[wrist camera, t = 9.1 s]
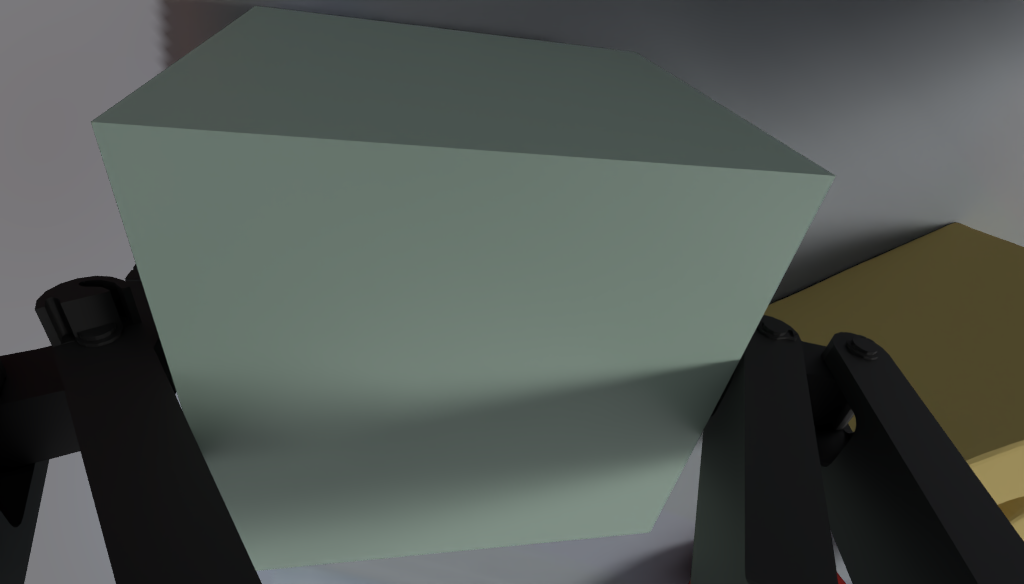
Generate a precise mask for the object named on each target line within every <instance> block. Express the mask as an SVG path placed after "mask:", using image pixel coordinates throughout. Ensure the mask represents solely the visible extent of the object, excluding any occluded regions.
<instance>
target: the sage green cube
mask: <svg viewBox="0 0 1024 584" xmlns="http://www.w3.org/2000/svg"><path fill="white" fill-rule="evenodd" d="M91 124H92V127H93V130H94V133H95V137H96V140H97V143H98V146H99V149H100V152H101V156H102V158H103V162H104V165H105V168H106V171H107V174H108V178H109V181H110V184H111V187H112V190H113V193H114V196H115V199H116V203H117V206H118V209H119V212H120V215H121V218H122V222H123V225H124V228H125V231H126V234H127V237H128V240H129V243H130V247H131V250H132V253H133V256H134V259H135V262H136V266H137V269H138V272H139V275H140V278H141V281H142V284H143V287H144V291H145V294H146V297H147V300H148V303H149V306H150V309H151V313H152V316H153V319H154V322H155V325H156V328H157V331H158V335H159V338H160V341H161V344H162V347H163V350H164V353H165V357H166V360H167V363H168V366H169V369H170V372H171V375H172V379H173V382H174V385H175V388H176V391H177V394H178V397H179V401H180V404H181V407H182V410H183V413H184V415H185V417H186V420H187V422H188V424H189V426H190V428H191V431H192V433H193V435H194V437H195V439H196V441H197V444H198V446H199V448H200V450H201V452H202V455H203V457H204V459H205V461H206V463H207V465H208V468H209V470H210V472H211V474H212V476H213V478H214V481H215V483H216V485H217V487H218V489H219V492H220V494H221V496H222V498H223V500H224V502H225V505H226V507H227V509H228V511H229V513H230V516H231V518H232V520H233V522H234V524H235V526H236V529H237V531H238V533H239V535H240V537H241V539H242V542H243V544H244V546H245V548H246V550H247V553H248V555H249V557H250V559H251V561H252V563H253V566H254V568H255V570H256V571H258V570H270V569H280V568H290V567H300V566H311V565H321V564H331V563H342V562H352V561H362V560H372V559H383V558H393V557H403V556H414V555H424V554H434V553H444V552H455V551H465V550H475V549H485V548H496V547H506V546H516V545H527V544H537V543H547V542H557V541H568V540H578V539H588V538H599V537H609V536H619V535H629V534H640V533H650V531H651V530H652V528H653V526H654V524H655V522H656V520H657V518H658V516H659V514H660V512H661V510H662V508H663V506H664V505H665V503H666V501H667V499H668V497H669V495H670V493H671V491H672V489H673V487H674V485H675V483H676V482H677V480H678V478H679V476H680V474H681V472H682V470H683V468H684V466H685V464H686V462H687V460H688V459H689V457H690V455H691V453H692V451H693V449H694V447H695V445H696V443H697V441H698V439H699V437H700V435H701V434H702V432H703V430H704V428H705V426H706V424H707V422H708V420H709V418H710V416H711V414H712V412H713V411H714V409H715V407H716V405H717V403H718V401H719V399H720V397H721V395H722V393H723V391H724V389H725V388H726V386H727V384H728V382H729V380H730V378H731V376H732V374H733V372H734V370H735V368H736V366H737V364H738V363H739V361H740V359H741V357H742V355H743V353H744V351H745V349H746V347H747V345H748V343H749V341H750V340H751V338H752V336H753V334H754V332H755V330H756V328H757V326H758V324H759V322H760V320H761V318H762V317H763V315H764V313H765V311H766V309H767V307H768V305H769V303H770V301H771V299H772V297H773V295H774V294H775V292H776V290H777V288H778V286H779V284H780V282H781V280H782V278H783V276H784V274H785V272H786V270H787V269H788V267H789V265H790V263H791V261H792V259H793V257H794V255H795V253H796V251H797V249H798V247H799V246H800V244H801V242H802V240H803V238H804V236H805V234H806V232H807V230H808V228H809V226H810V224H811V223H812V221H813V219H814V217H815V215H816V213H817V211H818V209H819V207H820V205H821V203H822V201H823V199H824V198H825V196H826V194H827V192H828V190H829V188H830V186H831V184H832V182H833V180H834V178H835V175H834V174H832V173H830V172H829V171H827V170H825V169H824V168H822V167H821V166H819V165H817V164H816V163H814V162H813V161H811V160H809V159H808V158H806V157H804V156H803V155H801V154H800V153H798V152H796V151H795V150H793V149H791V148H790V147H788V146H787V145H785V144H783V143H782V142H780V141H779V140H777V139H775V138H774V137H772V136H770V135H769V134H767V133H766V132H764V131H762V130H761V129H759V128H757V127H756V126H754V125H753V124H751V123H749V122H748V121H746V120H745V119H743V118H741V117H740V116H738V115H736V114H735V113H733V112H732V111H730V110H728V109H727V108H725V107H723V106H722V105H720V104H719V103H717V102H715V101H714V100H712V99H711V98H709V97H707V96H706V95H704V94H702V93H701V92H699V91H698V90H696V89H694V88H693V87H691V86H689V85H688V84H686V83H685V82H683V81H681V80H680V79H678V78H677V77H675V76H673V75H672V74H670V73H668V72H667V71H665V70H664V69H662V68H660V67H659V66H657V65H655V64H654V63H652V62H651V61H649V60H647V59H646V58H644V57H643V56H641V55H639V54H638V53H636V52H630V51H622V50H614V49H605V48H597V47H589V46H581V45H573V44H564V43H556V42H548V41H540V40H532V39H523V38H515V37H507V36H499V35H491V34H483V33H474V32H466V31H458V30H450V29H442V28H433V27H425V26H417V25H409V24H401V23H392V22H384V21H376V20H368V19H360V18H351V17H343V16H335V15H327V14H319V13H311V12H302V11H294V10H286V9H278V8H270V7H261V6H255V7H253V8H252V9H250V10H249V11H247V12H246V13H245V14H243V15H242V16H240V17H239V18H238V19H236V20H235V21H233V22H232V23H230V24H229V25H228V26H226V27H225V28H223V29H222V30H220V31H219V32H218V33H216V34H215V35H213V36H212V37H211V38H209V39H208V40H206V41H205V42H203V43H202V44H201V45H199V46H198V47H196V48H195V49H194V50H192V51H191V52H189V53H188V54H186V55H185V56H184V57H182V58H181V59H179V60H178V61H177V62H175V63H174V64H172V65H171V66H169V67H168V68H167V69H165V70H164V71H162V72H161V73H160V74H158V75H157V76H155V77H154V78H152V79H151V80H150V81H148V82H147V83H145V84H144V85H143V86H141V87H140V88H138V89H137V90H136V91H134V92H133V93H131V94H130V95H128V96H127V97H125V98H124V99H123V100H121V101H120V102H118V103H117V104H116V105H114V106H113V107H111V108H110V109H108V110H107V111H106V112H104V113H103V114H101V115H100V116H99V117H97V118H96V119H94V120H93V121H91Z"/></svg>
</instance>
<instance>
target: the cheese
mask: <svg viewBox="0 0 1024 584" xmlns="http://www.w3.org/2000/svg"><path fill="white" fill-rule="evenodd" d="M764 315H767V316H771V317H774V318H776V319H779V320H781V321H783V322H785V323H786V324H788V325H789V326H791V327H792V328H793V329H794V330H795V331H796V332H797V333H798V334H799V337H800V339H801V341H804V342H808V343H813V344H818V345H822V346H827V345H828V343H829V342H830V340H831V339H832V337H833V336H834V334H836V333H839V332H849V333H854V334H857V335H862V336H865V337H866V338H869V339H871V340H873V341H874V342H875V343H876V344H878V345H879V346H881V347H882V348H883V349H884V350H885V351H886V352H887V353H888V354H889V355H890V356H891V358H892V359H893V361H894V362H895V363H896V365H897V366H898V368H899V369H900V370H901V372H902V373H903V374H904V376H905V377H906V379H907V380H908V381H909V383H910V384H911V386H912V387H913V388H914V390H915V391H916V393H917V394H918V395H919V397H920V398H921V399H922V401H923V402H924V404H925V405H926V406H927V408H928V409H929V411H930V412H931V413H932V415H933V416H934V418H935V419H936V420H937V422H938V423H939V424H940V426H941V427H942V429H943V430H944V431H945V433H946V434H947V436H948V437H949V438H950V440H951V441H952V442H953V444H954V445H955V447H956V448H957V449H958V451H959V452H960V454H961V455H962V456H963V458H964V459H965V461H966V462H967V463H968V465H969V466H970V467H971V469H972V470H973V472H974V473H975V474H976V476H977V477H978V479H979V480H980V481H981V483H982V484H983V485H984V487H985V488H986V490H987V491H988V492H989V494H990V495H991V497H992V498H993V499H994V501H995V502H996V504H997V505H998V506H999V508H1000V509H1001V510H1002V512H1003V513H1004V515H1005V516H1006V517H1007V519H1008V520H1009V522H1010V523H1011V524H1012V526H1013V527H1014V528H1015V530H1016V531H1017V533H1018V534H1019V535H1020V537H1021V538H1022V540H1023V541H1024V247H1022V246H1019V245H1016V244H1014V243H1011V242H1008V241H1006V240H1003V239H1000V238H997V237H994V236H992V235H989V234H986V233H983V232H980V231H978V230H975V229H972V228H970V227H968V226H965V225H963V224H960V223H952V224H949V225H947V226H945V227H943V228H941V229H938V230H936V231H934V232H932V233H929V234H927V235H925V236H922V237H920V238H918V239H916V240H913V241H911V242H909V243H906V244H904V245H902V246H900V247H897V248H895V249H893V250H891V251H888V252H886V253H884V254H882V255H879V256H877V257H875V258H873V259H870V260H868V261H865V262H863V263H861V264H859V265H856V266H854V267H852V268H850V269H848V270H845V271H843V272H841V273H839V274H837V275H835V276H832V277H830V278H828V279H826V280H824V281H822V282H820V283H817V284H815V285H813V286H811V287H809V288H807V289H804V290H802V291H800V292H798V293H796V294H793V295H791V296H789V297H786V298H784V299H782V300H779V301H777V302H775V303H772V304H770V305H768V307H767V309H766V311H765V313H764ZM848 424H849V426H850V428H851V430H852V431H853V432H854V431H855V428H856V418H855V415H854V416H853V417H852V419H851V420H850V421H849V423H848Z"/></svg>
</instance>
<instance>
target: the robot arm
mask: <svg viewBox="0 0 1024 584" xmlns="http://www.w3.org/2000/svg"><path fill="white" fill-rule="evenodd" d="M125 279H126V280H125V281H124V280H120V279H117V278H114V277H107V276H92V277H84V278H77V279H74V280H71V281H68V282H65V283H61V284H59V285H57V286H55V287H53V288H51V289H50V290H48V291H46V292H45V293H44V294H43V295H42V296H41V297H40V298H39V299H38V300H37V301H36V306H35V311H36V313H37V315H38V317H39V319H40V321H41V323H42V325H43V327H44V329H45V332H46V334H47V336H48V338H49V340H50V342H51V344H52V346H49V347H45V348H40V349H36V350H31V351H25V352H20V353H15V354H9V355H3V356H0V584H24V581H25V576H26V571H27V566H28V562H29V556H30V552H31V547H32V542H33V537H34V532H35V527H36V522H37V517H38V512H39V507H40V502H41V498H42V492H43V487H44V483H45V478H46V473H47V468H48V463H49V459H52V458H55V457H59V456H63V455H67V454H70V453H74V452H78V451H81V454H82V458H83V462H84V466H85V469H86V473H87V476H88V481H89V484H90V488H91V492H92V495H93V499H94V502H95V507H96V510H97V514H98V518H99V521H100V525H101V529H102V533H103V536H104V540H105V544H106V548H107V551H108V555H109V559H110V563H111V566H112V570H113V574H114V578H115V581H116V584H262V583H261V581H260V579H259V577H258V575H257V572H256V570H255V568H254V566H253V563H252V561H251V559H250V557H249V555H248V553H247V550H246V548H245V546H244V544H243V542H242V539H241V537H240V535H239V533H238V531H237V529H236V526H235V524H234V522H233V520H232V518H231V516H230V513H229V511H228V509H227V507H226V505H225V502H224V500H223V498H222V496H221V494H220V492H219V489H218V487H217V485H216V483H215V481H214V478H213V476H212V474H211V472H210V470H209V468H208V465H207V463H206V461H205V459H204V457H203V455H202V452H201V450H200V448H199V446H198V444H197V441H196V439H195V437H194V435H193V433H192V431H191V428H190V426H189V424H188V422H187V420H186V417H185V415H184V413H183V411H182V409H181V407H180V405H179V402H178V400H177V398H176V396H175V394H176V392H177V391H176V388H175V385H174V382H173V379H172V375H171V372H170V369H169V366H168V363H167V360H166V357H165V353H164V350H163V347H162V344H161V341H160V338H159V335H158V331H157V328H156V325H155V322H154V319H153V316H152V313H151V309H150V306H149V303H148V300H147V297H146V294H145V291H144V287H143V284H142V281H141V278H140V275H139V272H138V269H137V266H136V264H135V266H134V267H133V270H131V272H130V273H129V274H128V275H127V277H126V278H125ZM854 415H855V418H856V428H855V431H854V432H853V431H852V430H851V428H850V426H849V424H848V423H849V421H850V420H851V419H852V417H853V416H854ZM830 529H831V532H832V534H833V537H834V539H835V542H836V544H837V546H838V549H839V551H840V554H841V556H842V559H843V561H844V564H845V566H846V569H847V571H848V573H849V576H850V578H851V581H852V583H853V584H1024V541H1023V540H1022V538H1021V537H1020V535H1019V534H1018V533H1017V531H1016V530H1015V528H1014V527H1013V526H1012V524H1011V523H1010V522H1009V520H1008V519H1007V517H1006V516H1005V515H1004V513H1003V512H1002V510H1001V509H1000V508H999V506H998V505H997V504H996V502H995V501H994V499H993V498H992V497H991V495H990V494H989V492H988V491H987V490H986V488H985V487H984V485H983V484H982V483H981V481H980V480H979V479H978V477H977V476H976V474H975V473H974V472H973V470H972V469H971V467H970V466H969V465H968V463H967V462H966V461H965V459H964V458H963V456H962V455H961V454H960V452H959V451H958V449H957V448H956V447H955V445H954V444H953V442H952V441H951V440H950V438H949V437H948V436H947V434H946V433H945V431H944V430H943V429H942V427H941V426H940V424H939V423H938V422H937V420H936V419H935V418H934V416H933V415H932V413H931V412H930V411H929V409H928V408H927V406H926V405H925V404H924V402H923V401H922V399H921V398H920V397H919V395H918V394H917V393H916V391H915V390H914V388H913V387H912V386H911V384H910V383H909V381H908V380H907V379H906V377H905V376H904V374H903V373H902V372H901V370H900V369H899V368H898V366H897V365H896V363H895V362H894V361H893V359H892V358H891V356H890V355H889V354H888V353H887V352H886V351H885V350H884V349H883V348H882V347H881V346H879V345H878V344H876V343H875V342H874V341H873V340H871V339H869V338H866V337H865V336H862V335H857V334H854V333H849V332H839V333H836V334H834V336H833V337H832V339H831V340H830V342H829V343H828V345H827V346H822V345H818V344H813V343H808V342H804V341H801V339H800V337H799V334H798V333H797V332H796V331H795V330H794V329H793V328H792V327H791V326H789V325H788V324H786V323H785V322H783V321H781V320H779V319H776V318H774V317H771V316H767V315H763V317H762V318H761V320H760V322H759V324H758V326H757V328H756V330H755V332H754V334H753V336H752V338H751V340H750V341H749V343H748V345H747V347H746V349H745V351H744V353H743V355H742V357H741V359H740V361H739V363H738V364H737V366H736V368H735V370H734V372H733V374H732V376H731V378H730V380H729V382H728V384H727V386H726V388H725V389H724V391H723V393H722V395H721V397H720V399H719V401H718V403H717V405H716V407H715V409H714V411H713V412H712V414H711V416H710V418H709V420H708V422H707V424H706V426H705V428H704V431H703V443H702V454H701V466H700V477H699V489H698V500H697V512H696V524H695V535H694V547H693V558H692V570H691V581H690V584H838V577H837V571H836V564H835V558H834V551H833V545H832V538H831V532H830Z"/></svg>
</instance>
